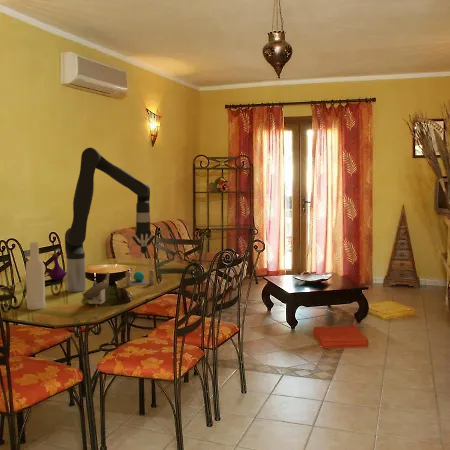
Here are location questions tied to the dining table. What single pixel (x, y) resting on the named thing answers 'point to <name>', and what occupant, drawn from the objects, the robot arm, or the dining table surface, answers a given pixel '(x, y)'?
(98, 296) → the wood carving
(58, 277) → the perfume bottle
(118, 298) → the dining table surface
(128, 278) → the left post
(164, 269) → the dining table surface
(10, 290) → the dining table surface
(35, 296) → the bottle
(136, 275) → the ball
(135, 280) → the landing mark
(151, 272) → the right post
